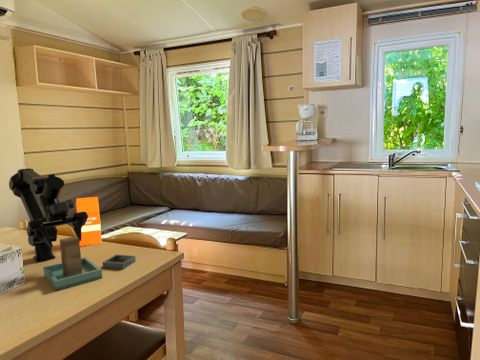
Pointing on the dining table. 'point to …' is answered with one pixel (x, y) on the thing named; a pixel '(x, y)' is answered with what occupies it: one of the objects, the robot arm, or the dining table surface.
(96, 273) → the tray
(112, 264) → the grey square bin
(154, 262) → the dining table surface
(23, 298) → the dining table surface
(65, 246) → the plate
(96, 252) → the dining table surface
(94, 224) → the orange juice
